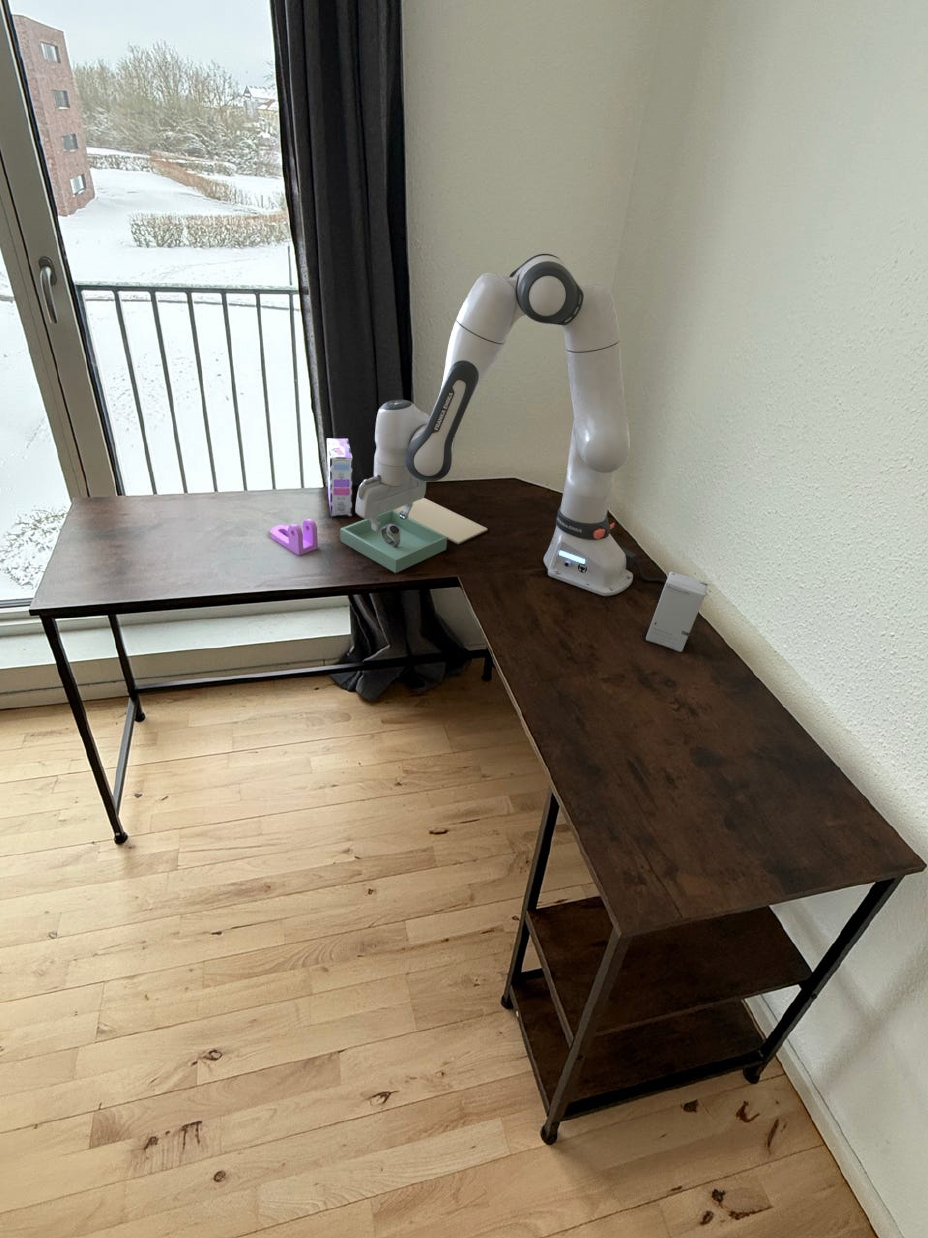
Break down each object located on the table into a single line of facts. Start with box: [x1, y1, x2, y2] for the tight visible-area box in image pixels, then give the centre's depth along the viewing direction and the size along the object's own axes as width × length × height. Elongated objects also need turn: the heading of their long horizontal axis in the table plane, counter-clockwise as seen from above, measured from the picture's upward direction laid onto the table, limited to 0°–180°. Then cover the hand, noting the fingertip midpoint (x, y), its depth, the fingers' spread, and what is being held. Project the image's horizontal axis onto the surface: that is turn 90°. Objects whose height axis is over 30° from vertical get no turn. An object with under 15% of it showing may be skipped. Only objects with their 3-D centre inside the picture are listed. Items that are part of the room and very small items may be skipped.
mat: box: [394, 497, 489, 545], centre depth 180 cm, size 24×12×1 cm, turn 49°
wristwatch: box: [381, 524, 400, 547], centre depth 165 cm, size 4×6×5 cm, turn 42°
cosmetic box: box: [645, 571, 709, 653], centre depth 140 cm, size 8×6×15 cm
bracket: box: [270, 518, 319, 556], centre depth 161 cm, size 13×6×7 cm, turn 48°
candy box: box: [326, 437, 353, 517], centre depth 177 cm, size 14×6×16 cm, turn 12°
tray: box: [339, 510, 448, 574], centre depth 165 cm, size 20×18×4 cm
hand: (390, 523), depth 164 cm, fingers open, 8 cm apart
